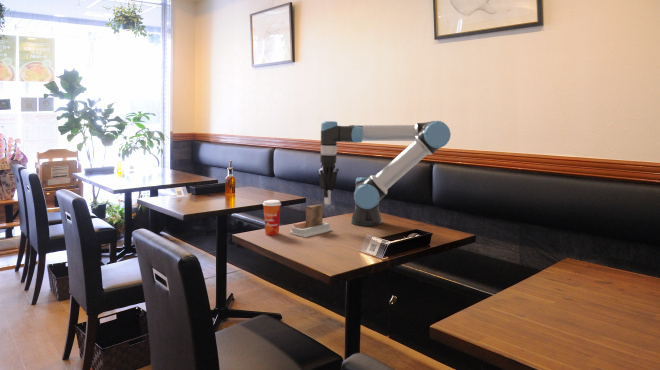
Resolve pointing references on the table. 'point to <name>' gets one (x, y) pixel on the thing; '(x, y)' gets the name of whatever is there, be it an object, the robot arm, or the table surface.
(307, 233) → the white rectangular tray
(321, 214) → the brown rectangular block
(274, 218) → the coffee cup
